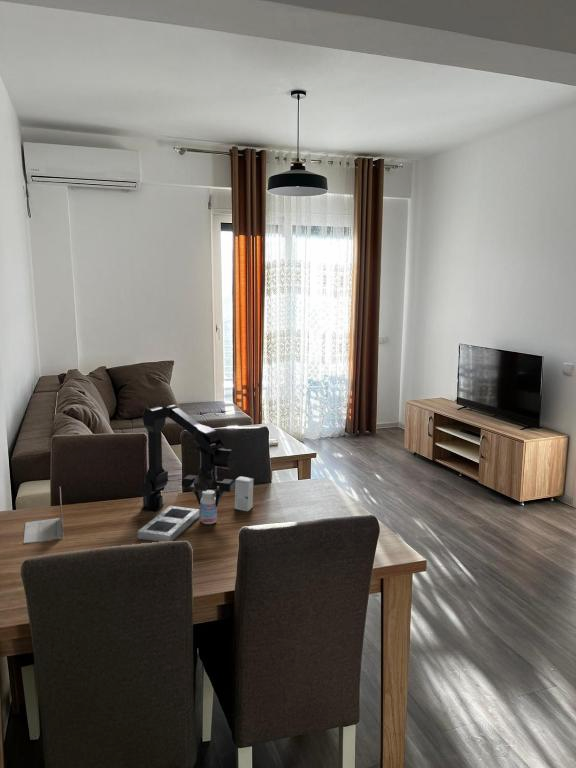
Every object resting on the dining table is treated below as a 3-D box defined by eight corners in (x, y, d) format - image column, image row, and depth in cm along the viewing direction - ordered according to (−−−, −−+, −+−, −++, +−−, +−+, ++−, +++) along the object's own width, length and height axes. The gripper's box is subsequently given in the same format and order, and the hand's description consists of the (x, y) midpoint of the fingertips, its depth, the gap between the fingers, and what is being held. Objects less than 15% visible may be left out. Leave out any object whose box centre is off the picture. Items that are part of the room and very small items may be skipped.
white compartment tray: (137, 539, 198) (137, 531, 197) (170, 513, 221) (169, 505, 220) (170, 544, 195) (169, 535, 194) (199, 517, 217) (199, 509, 217)
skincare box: (234, 509, 226) (234, 479, 223) (239, 505, 230) (239, 475, 228) (248, 511, 223) (248, 481, 221) (253, 507, 227) (253, 478, 225)
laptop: (25, 524, 209) (23, 489, 207) (62, 519, 214) (60, 485, 212) (23, 545, 193) (20, 508, 191) (63, 539, 198) (61, 503, 195)
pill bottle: (203, 525, 209) (203, 496, 207) (198, 519, 215) (197, 490, 213) (219, 522, 212) (219, 493, 210) (213, 516, 217) (213, 488, 215)
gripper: (174, 468, 204) (175, 510, 207) (224, 474, 199) (224, 517, 202) (188, 459, 215) (188, 499, 218) (235, 464, 210) (235, 505, 213)
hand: (208, 505), depth 212 cm, fingers closed on pill bottle, 6 cm apart
